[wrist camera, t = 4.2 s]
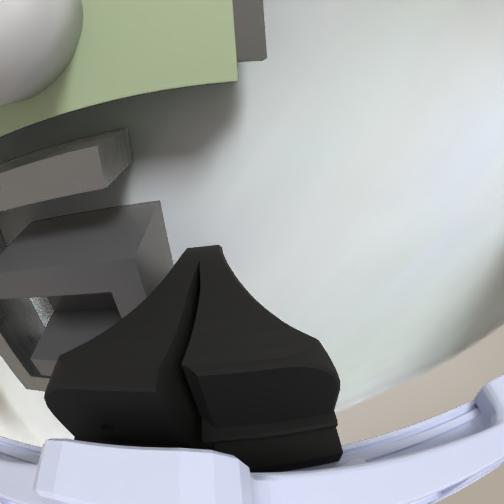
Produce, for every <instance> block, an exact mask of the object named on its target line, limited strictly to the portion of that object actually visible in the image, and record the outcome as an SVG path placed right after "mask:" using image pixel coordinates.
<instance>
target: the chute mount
mask: <svg viewBox="0 0 504 504" xmlns="http://www.w3.org/2000/svg"><path fill="white" fill-rule="evenodd" d="M133 161H134V159H133V154H132V148H131V142H130V135H129V129H128V128H127V129H122V130H117V131H112V132H108V133H103V134H99V135H95V136H91V137H87V138H83V139H79V140H75V141H71V142H67V143H64V144H60V145H57V146H53V147H50V148H47V149H43V150H40V151H37V152H34V153H31V154H28V155H25V156H22V157H19V158H16V159H13V160H10V161H7V162H5V163H2V164H0V212H1V211H5V210H9V209H13V208H16V207H20V206H25V205H29V204H33V203H37V202H41V201H46V200H50V199H55V198H59V197H64V196H69V195H74V194H79V193H84V192H89V191H94V190H99V189H105V188H107V187H108V186H109V185H110V184H111V183H112V182H113V181H114V180H115V179H116V178H117V177H118V176H119V175H120V174H121V173H122V172H123V171H124V170H125V169H126V168H127V167H128V166H129V165H130V164H131V163H132V162H133ZM5 249H6V246H5V243H4V241H3V238H2V236H1V233H0V254H1V253H2V252H3V251H4V250H5ZM44 330H45V327H44V326H43V324H42V322H41V320H40V318H39V317H38V315H37V313H36V311H35V309H34V307H33V305H32V303H31V301H30V299H29V298H11V299H0V355H1V356H2V358H3V359H4V361H5V362H6V363H7V365H8V366H9V367H10V369H11V370H12V371H13V373H14V374H15V375H16V377H17V378H18V379H19V380H20V382H21V383H22V384H23V385H24V387H25V388H26V389H31V390H38V391H46V388H47V385H48V383H49V380H50V377H51V376H47V375H41V373H40V372H39V370H38V369H37V368H36V366H35V365H34V364H33V362H32V361H31V357H32V354H33V352H34V350H35V348H36V346H37V344H38V342H39V340H40V338H41V336H42V334H43V332H44Z"/></svg>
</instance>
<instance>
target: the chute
mask: <svg viewBox="0 0 504 504" xmlns="http://www.w3.org/2000/svg"><path fill="white" fill-rule="evenodd" d="M173 266H174V265H173V261H172V257H171V252H170V248H169V243H168V238H167V234H166V229H165V224H164V219H163V214H162V209H161V204H160V201H153V202H146V203H139V204H133V205H126V206H119V207H113V208H107V209H101V210H95V211H89V212H83V213H78V214H72V215H67V216H61V217H56V218H51V219H46V220H41V221H36V222H32V223H31V224H29V225H28V226H27V227H26V228H25V229H24V230H23V231H22V232H21V233H20V234H19V235H18V236H17V237H16V238H15V239H14V240H13V241H12V243H11V244H10V245H9V246H8V247H7V248H6V249H5V250H4V251H3V252H2V253H1V254H0V299H11V298H29V297H46V296H47V297H48V299H49V301H50V303H51V305H52V307H53V309H54V313H53V315H52V316H51V318H50V320H49V322H48V324H47V326H46V328H45V330H44V332H43V334H42V336H41V338H40V340H39V342H38V344H37V346H36V348H35V350H34V352H33V354H32V357H31V361H32V362H33V364H34V365H35V366H36V368H37V369H38V370H39V372H40V373H41V375H47V376H51V375H52V372H53V370H54V367H55V365H56V362H57V360H58V357H59V355H62V354H64V353H66V352H68V351H70V350H72V349H74V348H76V347H78V346H80V345H82V344H84V343H86V342H88V341H89V340H91V339H93V338H94V337H96V336H98V335H99V334H101V333H103V332H104V331H106V330H107V329H109V328H110V327H112V326H113V325H114V324H116V323H117V322H118V321H120V320H121V319H122V318H123V317H125V316H126V315H127V314H129V313H130V312H131V311H132V310H134V309H135V308H136V307H137V306H138V305H139V304H140V303H141V302H143V301H144V300H145V299H146V298H147V297H148V296H149V295H150V294H151V293H152V292H153V290H154V289H155V288H156V287H157V286H158V285H159V284H160V283H161V281H162V280H163V279H164V278H165V277H166V275H167V274H168V273H169V271H170V270H171V269H172V268H173Z"/></svg>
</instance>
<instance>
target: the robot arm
mask: <svg viewBox="0 0 504 504" xmlns="http://www.w3.org/2000/svg"><path fill="white" fill-rule="evenodd" d="M339 391H340V379H339V376H338V373H337V371H336V369H335V367H334V365H333V363H332V361H331V359H330V357H329V356H328V354H327V352H326V351H325V349H324V348H323V346H322V345H321V343H320V342H319V340H317V339H316V338H313V337H311V336H309V335H307V334H305V333H303V332H301V331H299V330H297V329H295V328H293V327H291V326H289V325H288V324H286V323H284V322H283V321H281V320H280V319H279V318H277V317H276V316H275V315H273V314H272V313H271V312H269V311H268V310H266V309H265V308H264V307H263V306H262V305H261V304H260V303H259V302H257V301H256V300H255V299H254V298H253V297H252V296H251V295H250V293H249V292H248V291H247V290H246V289H245V288H244V287H243V285H242V284H241V283H240V282H239V280H238V279H237V277H236V276H235V275H234V273H233V271H232V270H231V268H230V267H229V265H228V263H227V261H226V259H225V257H224V255H223V251H222V247H221V246H219V245H214V246H204V247H195V248H187V249H186V250H185V252H184V253H183V254H182V256H181V257H180V258H179V260H178V261H177V262H176V264H175V265H174V266H173V268H172V269H171V270H170V271H169V273H168V274H167V275H166V277H165V278H164V279H163V280H162V281H161V283H160V284H159V285H158V286H157V287H156V288H155V289H154V290H153V292H152V293H151V294H150V295H149V296H148V297H147V298H146V299H145V300H144V301H143V302H141V303H140V304H139V305H138V306H137V307H136V308H135V309H134V310H132V311H131V312H130V313H129V314H127V315H126V316H125V317H123V318H122V319H121V320H120V321H118V322H117V323H116V324H114V325H113V326H112V327H110V328H109V329H107V330H106V331H104V332H103V333H101V334H99V335H98V336H96V337H94V338H93V339H91V340H89V341H88V342H86V343H84V344H82V345H80V346H78V347H76V348H74V349H72V350H70V351H68V352H66V353H64V354H62V355H59V357H58V360H57V362H56V365H55V367H54V370H53V372H52V375H51V377H50V380H49V383H48V385H47V388H46V391H45V396H44V399H45V401H46V404H47V406H48V408H49V409H50V411H51V412H52V413H53V415H54V416H55V417H56V418H57V419H58V420H59V421H60V422H61V423H62V424H63V425H64V426H65V427H66V428H67V429H68V430H69V431H70V432H71V433H72V434H73V435H74V436H75V438H74V440H71V439H49V440H46V442H45V443H44V445H43V446H42V448H41V447H37V446H33V445H29V444H25V443H22V442H18V441H15V440H11V439H8V438H5V437H1V436H0V504H434V503H436V502H438V501H440V500H442V499H444V498H446V497H448V496H450V495H452V494H454V493H455V492H457V491H459V490H461V489H463V488H464V487H466V486H468V485H470V484H472V483H473V482H475V481H477V480H478V479H480V478H482V477H483V476H485V475H486V474H488V473H490V472H491V471H493V470H494V469H496V468H497V467H499V466H500V465H502V464H503V463H504V374H503V375H501V376H499V377H497V378H495V379H493V380H491V381H490V382H488V383H487V384H485V385H484V386H483V387H482V388H481V389H480V391H479V392H478V393H477V395H476V396H475V399H474V400H472V401H470V402H468V403H465V404H463V405H461V406H459V407H456V408H454V409H452V410H450V411H447V412H445V413H443V414H440V415H438V416H435V417H432V418H430V419H427V420H425V421H422V422H419V423H417V424H414V425H411V426H408V427H405V428H402V429H399V430H396V431H393V432H390V433H387V434H383V435H380V436H376V437H373V438H370V439H366V440H362V441H358V442H354V443H350V444H347V445H342V446H341V443H340V440H339V436H338V433H337V429H336V426H337V425H338V424H337V419H336V415H335V412H334V409H335V405H336V402H337V398H338V394H339Z"/></svg>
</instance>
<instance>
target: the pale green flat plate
mask: <svg viewBox="0 0 504 504" xmlns="http://www.w3.org/2000/svg"><path fill="white" fill-rule="evenodd" d="M266 58H267V52H266V38H265V24H264V11H263V0H0V137H2V136H5V135H7V134H10V133H12V132H15V131H17V130H20V129H22V128H25V127H27V126H30V125H33V124H36V123H38V122H41V121H44V120H47V119H50V118H53V117H56V116H59V115H63V114H66V113H69V112H72V111H76V110H79V109H83V108H86V107H90V106H94V105H97V104H101V103H105V102H109V101H114V100H118V99H122V98H127V97H132V96H136V95H141V94H146V93H152V92H157V91H163V90H169V89H176V88H182V87H189V86H197V85H205V84H215V83H225V82H235V81H238V72H237V62H246V61H262V60H264V59H266Z"/></svg>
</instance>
